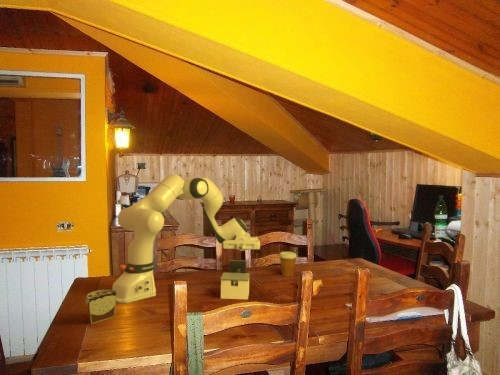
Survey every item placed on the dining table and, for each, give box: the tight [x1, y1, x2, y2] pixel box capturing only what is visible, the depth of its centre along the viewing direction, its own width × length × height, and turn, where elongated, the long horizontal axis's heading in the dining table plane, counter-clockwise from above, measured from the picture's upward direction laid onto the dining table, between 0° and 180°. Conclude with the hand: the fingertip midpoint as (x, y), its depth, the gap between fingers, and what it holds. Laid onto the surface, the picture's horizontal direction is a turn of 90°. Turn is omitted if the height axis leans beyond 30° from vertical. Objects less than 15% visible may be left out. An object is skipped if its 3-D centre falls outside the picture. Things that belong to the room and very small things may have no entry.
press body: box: [220, 272, 250, 300], centre depth 177 cm, size 10×12×9 cm
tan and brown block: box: [84, 289, 118, 325], centre depth 148 cm, size 12×6×10 cm, turn 141°
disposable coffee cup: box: [279, 251, 297, 278], centre depth 212 cm, size 10×10×12 cm
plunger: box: [228, 259, 247, 285], centre depth 182 cm, size 17×8×11 cm, turn 177°
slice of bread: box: [311, 279, 324, 297], centre depth 189 cm, size 18×18×4 cm
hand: (240, 247), depth 202 cm, fingers closed
